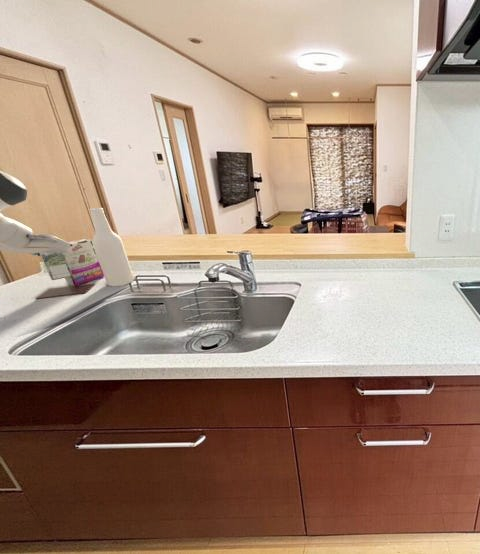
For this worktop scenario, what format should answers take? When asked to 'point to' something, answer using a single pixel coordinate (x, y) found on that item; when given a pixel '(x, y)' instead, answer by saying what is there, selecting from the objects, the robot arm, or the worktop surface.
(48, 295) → the board
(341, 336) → the worktop surface
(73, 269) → the candy bar box
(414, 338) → the worktop surface
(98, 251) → the alcohol
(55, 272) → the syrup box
